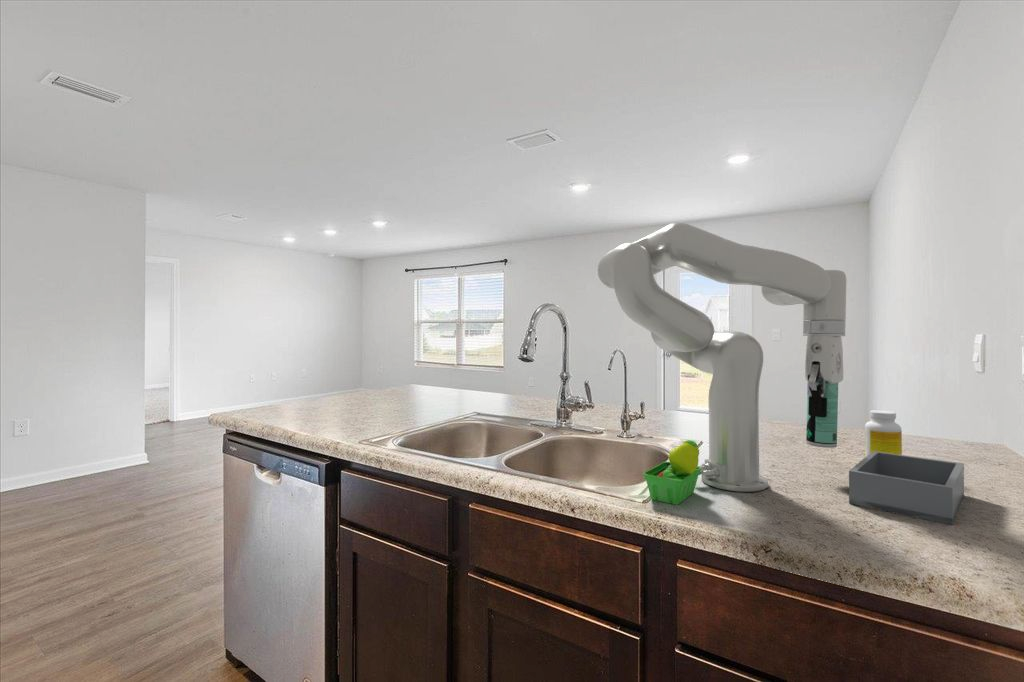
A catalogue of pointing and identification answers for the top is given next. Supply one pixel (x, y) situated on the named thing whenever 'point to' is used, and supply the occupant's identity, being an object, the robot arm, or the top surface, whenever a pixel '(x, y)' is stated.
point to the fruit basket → (675, 475)
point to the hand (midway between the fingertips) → (821, 413)
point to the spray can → (824, 420)
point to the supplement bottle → (883, 433)
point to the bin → (908, 486)
